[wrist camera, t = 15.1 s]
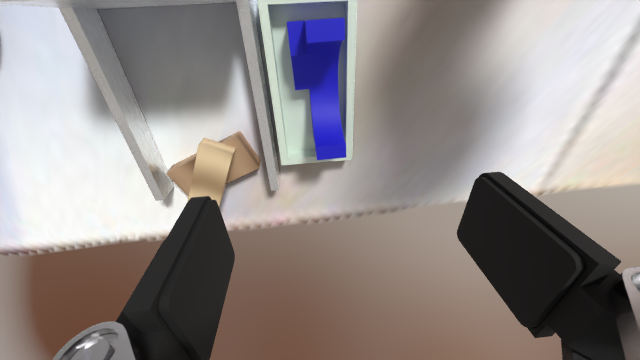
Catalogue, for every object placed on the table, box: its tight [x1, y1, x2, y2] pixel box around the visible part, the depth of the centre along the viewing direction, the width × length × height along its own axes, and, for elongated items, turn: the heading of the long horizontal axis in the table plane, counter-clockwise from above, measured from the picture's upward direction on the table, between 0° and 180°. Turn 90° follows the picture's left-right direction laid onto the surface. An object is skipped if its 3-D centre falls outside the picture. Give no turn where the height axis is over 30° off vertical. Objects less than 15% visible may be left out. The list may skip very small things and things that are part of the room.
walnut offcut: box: [166, 131, 261, 196], centre depth 31 cm, size 10×4×2 cm, turn 115°
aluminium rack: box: [0, 0, 280, 200], centre depth 24 cm, size 15×21×10 cm
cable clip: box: [287, 18, 346, 160], centre depth 25 cm, size 12×4×6 cm, turn 4°
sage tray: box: [257, 0, 357, 165], centre depth 27 cm, size 9×17×2 cm, turn 3°
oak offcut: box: [188, 138, 236, 206], centre depth 29 cm, size 8×4×2 cm, turn 157°
